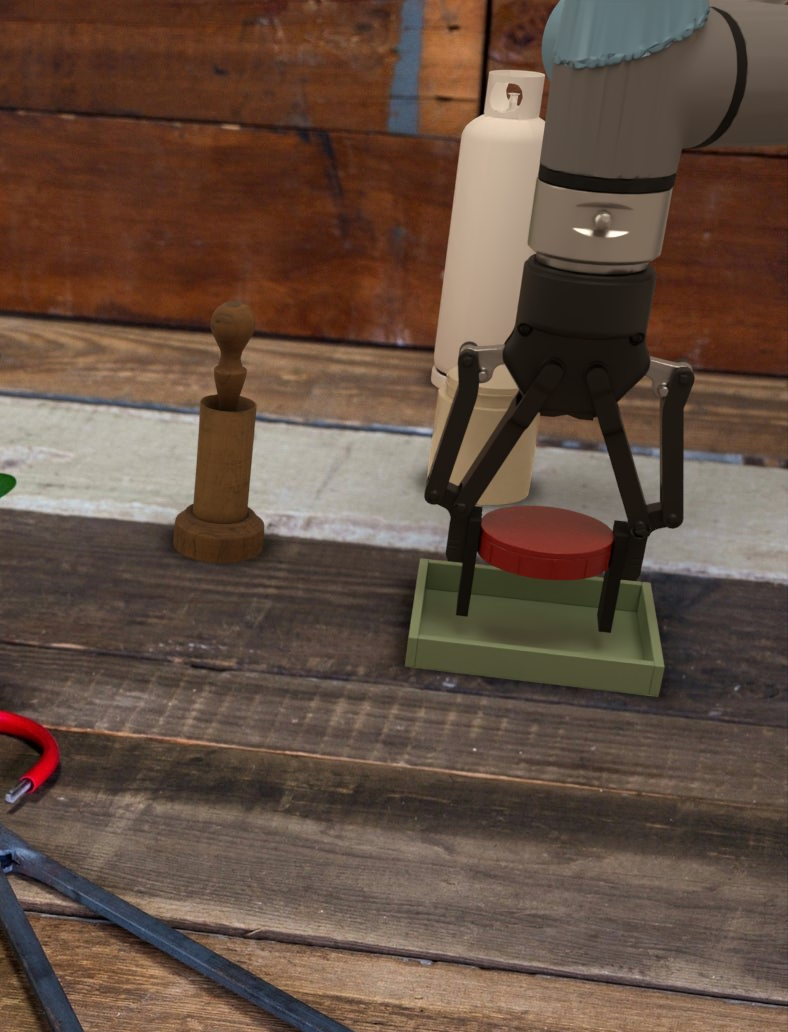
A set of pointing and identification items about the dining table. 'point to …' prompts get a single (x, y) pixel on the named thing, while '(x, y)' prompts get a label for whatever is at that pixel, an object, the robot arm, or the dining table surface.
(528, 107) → the bottle
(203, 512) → the mortar and pestle
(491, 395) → the jam jar
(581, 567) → the jam lid
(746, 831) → the dining table surface
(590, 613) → the tray
